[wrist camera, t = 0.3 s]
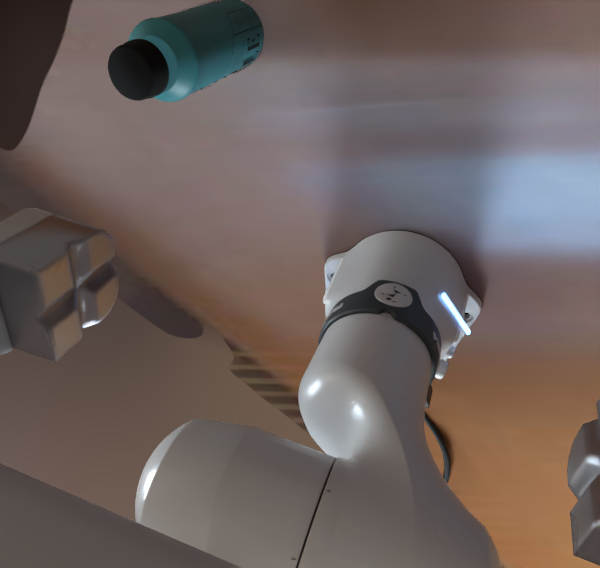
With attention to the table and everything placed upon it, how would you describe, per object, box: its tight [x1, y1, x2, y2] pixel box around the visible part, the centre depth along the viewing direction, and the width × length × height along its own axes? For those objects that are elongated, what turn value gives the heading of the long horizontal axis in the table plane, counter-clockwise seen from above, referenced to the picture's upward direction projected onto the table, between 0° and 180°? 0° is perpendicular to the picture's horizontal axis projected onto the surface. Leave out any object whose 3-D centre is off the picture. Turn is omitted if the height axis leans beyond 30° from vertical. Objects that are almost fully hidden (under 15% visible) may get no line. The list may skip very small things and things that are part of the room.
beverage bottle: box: [108, 0, 264, 102], centre depth 46 cm, size 6×7×20 cm
